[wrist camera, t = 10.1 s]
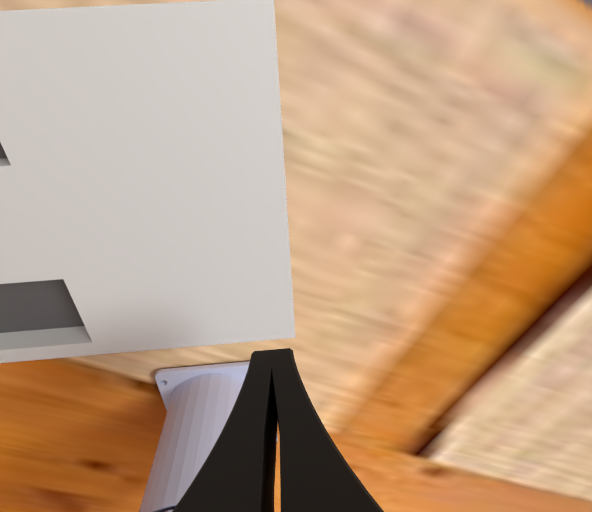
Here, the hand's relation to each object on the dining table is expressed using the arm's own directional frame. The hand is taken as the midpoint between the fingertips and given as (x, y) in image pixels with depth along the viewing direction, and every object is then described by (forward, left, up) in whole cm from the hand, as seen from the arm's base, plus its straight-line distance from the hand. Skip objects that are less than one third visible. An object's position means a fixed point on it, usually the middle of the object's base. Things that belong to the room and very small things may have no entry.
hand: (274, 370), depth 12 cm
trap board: (+3, +12, -9) cm, 16 cm away
